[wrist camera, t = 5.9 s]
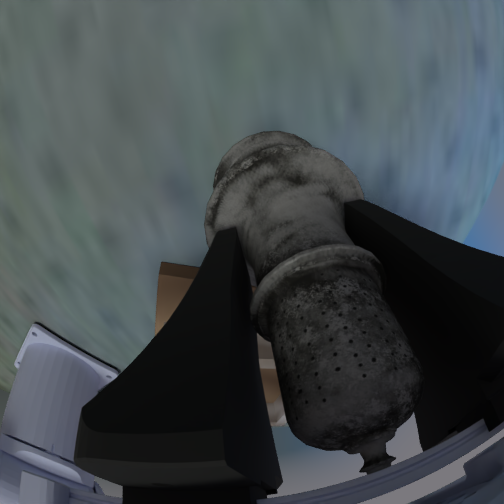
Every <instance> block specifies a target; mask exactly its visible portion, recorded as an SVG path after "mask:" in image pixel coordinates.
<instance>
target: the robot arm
mask: <svg viewBox="0 0 504 504" xmlns="http://www.w3.org/2000/svg"><path fill="white" fill-rule="evenodd" d="M344 213H345V230H346V233H347V234H348V236H349V237H350V239H351V240H352V242H353V243H354V245H355V246H359V247H361V248H363V249H365V250H367V251H369V252H372V253H373V255H374V256H375V257H376V258H377V259H378V260H379V261H380V262H381V263H382V265H383V268H384V271H385V273H386V290H385V293H384V298H385V300H386V301H387V303H388V305H389V306H390V308H391V310H392V312H393V313H394V315H395V317H396V319H397V320H398V322H399V324H400V326H401V327H402V329H403V331H404V333H405V335H406V337H407V338H408V340H409V342H410V344H411V346H412V348H413V350H414V352H415V353H416V355H417V357H418V359H419V361H420V363H421V366H422V370H423V375H424V380H425V386H424V391H423V395H422V399H421V401H420V403H419V405H418V406H417V408H416V409H415V411H414V414H415V418H416V423H417V428H418V434H419V440H420V444H421V447H422V450H423V452H422V453H420V454H418V455H416V456H414V457H411V458H409V459H407V460H405V461H402V462H400V463H397V464H395V465H392V466H390V467H387V468H385V469H382V470H380V471H377V472H374V473H371V474H368V475H365V476H362V477H359V478H356V479H353V480H350V481H346V482H343V483H340V484H336V485H332V486H328V487H325V488H320V489H317V490H312V491H307V492H303V493H298V494H292V495H287V496H281V497H274V498H267V495H271V494H277V489H278V488H279V486H280V485H281V484H282V483H283V480H282V475H281V471H280V466H279V462H278V457H277V453H276V449H275V443H274V439H273V434H272V429H271V424H270V419H269V414H268V409H267V404H266V399H265V393H264V388H263V383H262V377H261V372H260V364H259V354H258V341H257V332H256V331H255V329H254V327H253V325H252V323H251V320H250V303H251V300H252V297H253V291H252V286H251V281H250V276H249V272H248V269H247V265H246V261H245V258H244V254H243V251H242V247H241V244H240V240H239V236H238V233H237V229H236V227H234V228H230V229H226V230H222V231H218V232H217V233H216V234H215V236H214V239H213V241H212V243H211V246H210V248H209V250H208V252H207V254H206V256H205V259H204V261H203V263H202V265H201V267H200V269H199V271H198V273H197V274H196V276H195V278H194V280H193V282H192V283H191V285H190V287H189V289H188V290H187V292H186V294H185V296H184V297H183V299H182V300H181V302H180V303H179V305H178V307H177V308H176V310H175V311H174V312H173V314H172V315H171V317H170V318H169V320H168V321H167V322H166V324H165V325H164V326H163V327H162V328H161V330H160V331H159V332H158V333H157V334H156V336H155V337H154V338H153V339H152V340H151V342H150V343H149V344H148V345H147V346H146V348H145V349H144V350H143V351H142V352H141V353H140V354H139V355H138V356H137V357H136V359H135V360H134V361H133V362H132V363H131V364H130V365H129V366H128V367H127V368H126V369H125V370H124V371H123V372H122V373H121V374H120V375H119V376H118V371H117V370H115V369H113V368H111V367H109V366H107V365H105V364H104V363H102V362H100V361H98V360H96V359H94V358H92V357H91V356H89V355H87V354H85V353H83V352H82V351H80V350H78V349H76V348H75V347H73V346H71V345H70V344H68V343H66V342H65V341H63V340H61V339H60V338H58V337H57V336H55V335H53V334H52V333H50V332H49V331H47V330H46V329H44V328H43V327H41V326H40V325H38V324H32V326H31V328H30V330H29V332H28V334H27V336H26V339H25V341H24V343H23V345H22V347H21V349H20V352H19V354H18V356H17V358H16V361H15V363H14V365H15V366H16V367H17V368H18V371H17V374H16V377H15V380H14V383H13V386H12V389H11V392H10V396H9V399H8V402H7V406H6V410H5V413H4V417H3V421H2V425H1V429H0V504H357V503H360V502H363V501H366V500H369V499H372V498H375V497H377V496H380V495H383V494H386V493H388V492H391V491H394V490H396V489H398V488H401V487H403V486H406V485H408V484H410V483H412V482H415V481H417V480H419V479H421V478H423V477H425V476H427V475H429V474H431V473H433V472H435V471H437V470H439V469H441V468H443V467H445V466H446V465H448V464H450V463H452V462H453V461H455V460H457V459H458V458H460V457H462V456H464V455H465V454H467V453H469V452H470V451H472V450H473V449H475V448H476V447H478V446H479V445H481V444H483V443H484V442H485V441H487V440H488V439H490V438H491V437H493V436H494V435H495V434H497V433H498V432H500V431H501V430H502V429H503V428H504V257H502V256H498V255H495V254H491V253H489V252H485V251H482V250H479V249H476V248H473V247H470V246H467V245H464V244H462V243H459V242H457V241H454V240H451V239H449V238H446V237H444V236H441V235H439V234H437V233H435V232H432V231H430V230H428V229H426V228H423V227H421V226H419V225H417V224H415V223H412V222H410V221H408V220H406V219H404V218H402V217H400V216H398V215H396V214H394V213H392V212H390V211H388V210H385V209H383V208H381V207H379V206H377V205H375V204H372V203H370V202H368V201H365V200H362V199H359V200H354V201H349V202H345V203H344ZM111 381H112V382H111ZM110 382H111V383H110ZM108 383H110V384H109V385H108V386H106V387H105V388H104V389H103V390H102V391H101V392H99V393H98V390H100V389H101V388H102V387H104V386H105V385H107V384H108ZM97 393H98V394H97ZM463 468H464V470H465V473H466V475H464V476H463V477H461V478H459V479H457V480H456V481H454V482H452V483H450V484H448V485H446V486H445V487H443V488H441V489H439V490H437V491H435V492H432V493H430V494H428V495H426V496H424V497H422V498H420V499H417V500H415V501H413V502H410V503H408V504H504V437H503V438H501V439H500V440H499V441H497V442H496V443H494V444H493V445H491V446H490V447H488V448H487V449H485V450H483V451H482V452H481V453H479V454H477V455H476V456H475V457H473V458H472V459H470V460H469V461H467V462H466V463H465V464H464V466H463ZM94 476H97V477H99V478H102V479H105V480H108V481H110V482H113V483H115V484H118V485H121V486H123V498H119V497H112V496H107V495H105V494H104V493H103V491H102V489H101V487H100V486H99V484H98V483H97V482H95V481H94Z"/></svg>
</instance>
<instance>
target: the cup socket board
mask: <svg viewBox="0 0 504 504" xmlns="http://www.w3.org/2000/svg"><path fill="white" fill-rule="evenodd" d="M199 269H200V268H198V267H192V266H185V265H178V264H172V263H165V262H161V266H160V271H159V278H158V291H157V305H156V323H155V336H156V334H157V333H158V332H159V331H160V330H161V328H162V327H163V326H164V325H165V324H166V322H167V321H168V320H169V318H170V317H171V315H172V314H173V312H174V311H175V310H176V308H177V307H178V305H179V303H180V302H181V300H182V299H183V297H184V296H185V294H186V292H187V290H188V289H189V287H190V285H191V283H192V282H193V280H194V278H195V276H196V274H197V273H198V271H199ZM251 286H252V285H251ZM256 288H257V287H256V286H252V291H253V293H254V291H255V290H256ZM257 341H258V354H259V364H260V372H261V377H262V383H263V388H264V393H265V399H266V404H267V409H268V414H269V419H270V424H271V426H284V425H285V424H286V423H287V421H286V417H285V412H284V407H283V402H282V397H281V392H280V387H279V382H278V377H277V372H276V367H275V362H274V357H273V352H272V347H271V343H270V342H268V341H266V340H264V339H263V338H262V337H261V336H260V335H259V334H258V333H257Z"/></svg>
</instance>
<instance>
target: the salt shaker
mask: <svg viewBox="0 0 504 504" xmlns="http://www.w3.org/2000/svg"><path fill="white" fill-rule="evenodd" d="M213 188H214V191H213V193H212V195H211V198H210V200H209V202H208V204H207V210H206V217H205V223H204V226H205V233H206V240H207V245H208V247H209V248H210V246H211V243H212V241H213V239H214V236H215V234H216V233H217V232H218V231H222V230H226V229H230V228H234V227H236V229H237V233H238V236H239V240H240V244H241V247H242V251H243V254H244V258H245V261H246V265H247V269H248V272H249V276H250V281H251V285H252V286H256V287H257V288H256V290H255V291H254V293H253V297H252V300H251V303H250V320H251V323H252V325H253V327H254V329H255V331H256V332H257V333H258V334H259V335H260V336H261V337H262V338H263V339H264V340H266V341H268V342H270V343H271V347H272V352H273V357H274V362H275V367H276V372H277V377H278V382H279V387H280V392H281V397H282V402H283V407H284V412H285V417H286V421H287V423H288V425H289V427H290V429H291V431H292V433H293V434H294V435H295V436H296V437H297V438H298V439H299V440H301V441H302V442H303V443H305V444H306V445H309V446H312V447H315V448H319V449H322V450H326V451H335V450H344V451H345V452H347V453H348V454H357V453H360V454H361V456H362V458H363V459H364V465H363V467H362V468H361V470H360V471H359V472H366V473H367V475H368V474H371V473H374V472H377V471H380V470H382V469H385V468H387V467H390V466H391V462H392V461H394V460H395V459H396V457H393V456H389V455H388V454H387V453H386V442H388V441H389V440H391V439H392V438H393V437H394V436H395V432H396V430H397V428H398V427H400V426H401V425H402V424H403V423H404V422H406V421H407V420H408V419H409V418H410V417H411V415H412V414H413V412H414V411H415V409H416V408H417V406H418V405H419V403H420V401H421V399H422V395H423V391H424V386H425V380H424V375H423V370H422V366H421V363H420V361H419V359H418V357H417V355H416V353H415V352H414V350H413V348H412V346H411V344H410V342H409V340H408V338H407V337H406V335H405V333H404V331H403V329H402V327H401V326H400V324H399V322H398V320H397V319H396V317H395V315H394V313H393V312H392V310H391V308H390V306H389V305H388V303H387V301H386V300H385V298H384V293H385V290H386V273H385V271H384V268H383V265H382V263H381V262H380V261H379V260H378V259H377V258H376V257H375V256H374V255H373V253H372V252H369V251H367V250H365V249H363V248H361V247H359V246H355V245H354V243H353V242H352V240H351V239H350V237H349V236H348V234H347V233H346V230H345V213H344V203H345V202H349V201H354V200H359V199H362V200H364V194H363V191H362V189H361V187H360V184H359V182H358V180H357V178H356V176H355V175H354V174H353V172H352V171H351V170H350V169H349V168H348V167H347V166H346V165H345V163H344V162H343V161H341V160H340V159H338V158H336V157H335V156H333V155H331V154H330V153H328V152H326V151H325V150H322V149H318V148H314V147H312V146H311V145H310V144H309V143H308V142H307V141H305V140H303V139H302V138H300V137H298V136H296V135H294V134H290V133H286V132H281V131H268V132H260V133H257V134H254V135H251V136H248V137H246V138H244V139H243V140H241V141H240V142H238V143H237V144H235V145H233V147H232V148H231V149H230V150H229V151H228V152H227V153H226V154H225V155H224V156H223V158H222V160H221V162H220V164H219V166H218V168H217V170H216V173H215V179H214V184H213Z"/></svg>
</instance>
